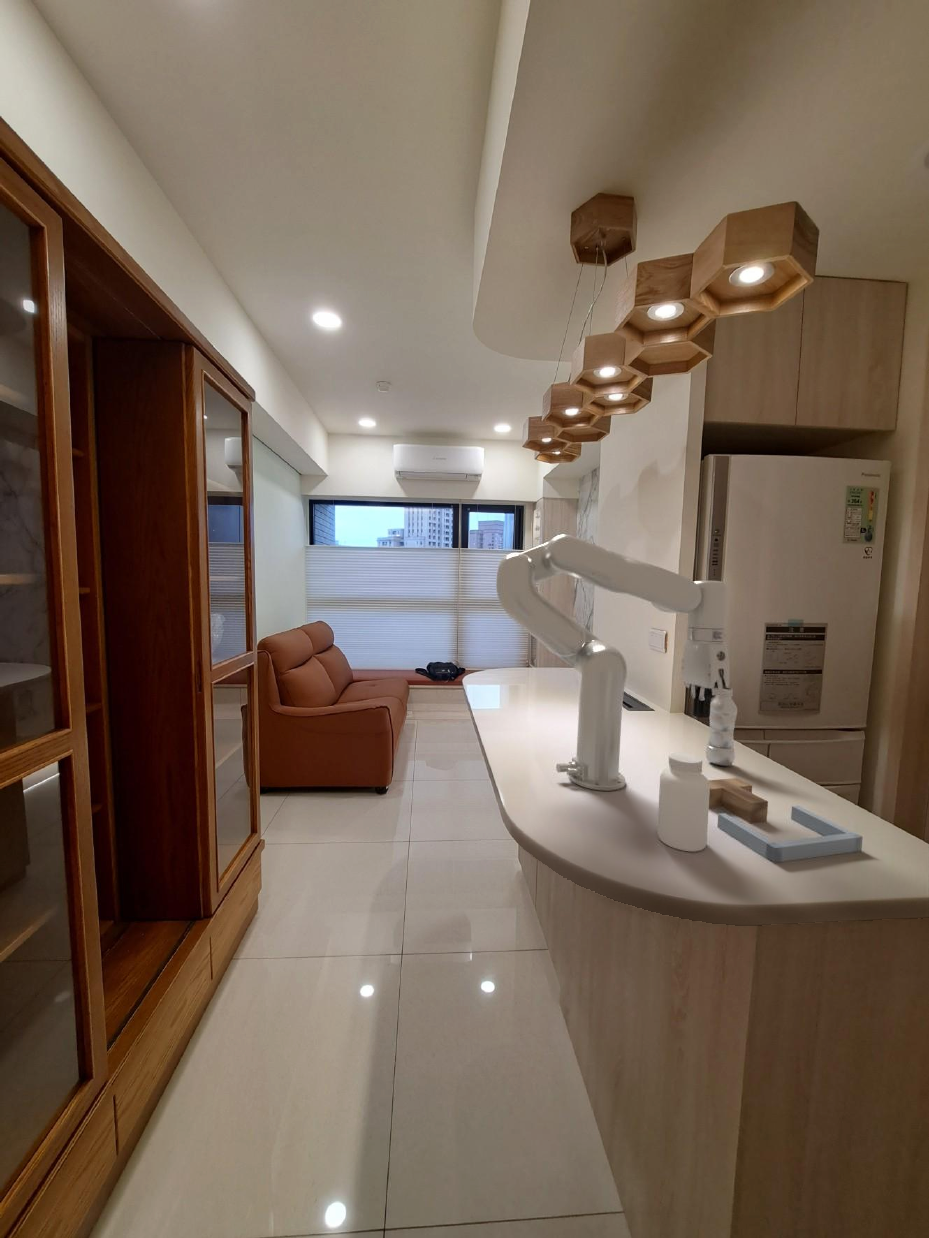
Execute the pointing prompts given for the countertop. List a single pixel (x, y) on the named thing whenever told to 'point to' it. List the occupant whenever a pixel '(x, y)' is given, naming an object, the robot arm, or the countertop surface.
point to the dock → (829, 844)
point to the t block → (738, 799)
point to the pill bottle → (683, 803)
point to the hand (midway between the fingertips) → (701, 716)
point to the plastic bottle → (722, 729)
